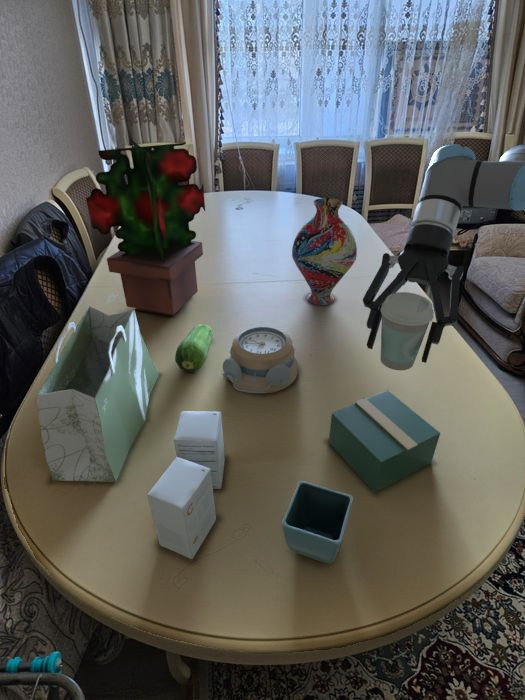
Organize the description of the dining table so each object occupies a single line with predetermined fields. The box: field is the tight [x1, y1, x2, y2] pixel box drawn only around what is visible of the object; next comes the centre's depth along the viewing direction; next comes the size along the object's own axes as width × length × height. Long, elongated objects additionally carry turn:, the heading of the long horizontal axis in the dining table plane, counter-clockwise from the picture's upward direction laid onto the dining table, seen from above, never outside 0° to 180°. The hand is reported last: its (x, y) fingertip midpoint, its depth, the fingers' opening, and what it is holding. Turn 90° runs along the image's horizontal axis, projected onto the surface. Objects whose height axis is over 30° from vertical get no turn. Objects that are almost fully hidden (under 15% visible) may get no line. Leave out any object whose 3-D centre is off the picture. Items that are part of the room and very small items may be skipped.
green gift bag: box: [36, 305, 160, 483], centre depth 89 cm, size 32×14×23 cm, turn 178°
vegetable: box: [174, 323, 214, 372], centre depth 114 cm, size 7×7×20 cm
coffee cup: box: [380, 291, 435, 371], centre depth 77 cm, size 8×8×12 cm
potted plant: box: [85, 139, 206, 317], centre depth 125 cm, size 22×22×45 cm
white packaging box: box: [173, 410, 226, 490], centre depth 80 cm, size 7×7×13 cm
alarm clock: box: [222, 326, 299, 394], centre depth 105 cm, size 17×9×23 cm
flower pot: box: [281, 480, 354, 564], centre depth 69 cm, size 9×9×9 cm
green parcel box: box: [328, 389, 441, 493], centre depth 86 cm, size 14×14×8 cm
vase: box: [291, 197, 358, 306], centre depth 132 cm, size 19×19×30 cm
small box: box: [146, 456, 217, 560], centre depth 70 cm, size 8×6×13 cm
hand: (396, 353), depth 76 cm, fingers closed on coffee cup, 8 cm apart
